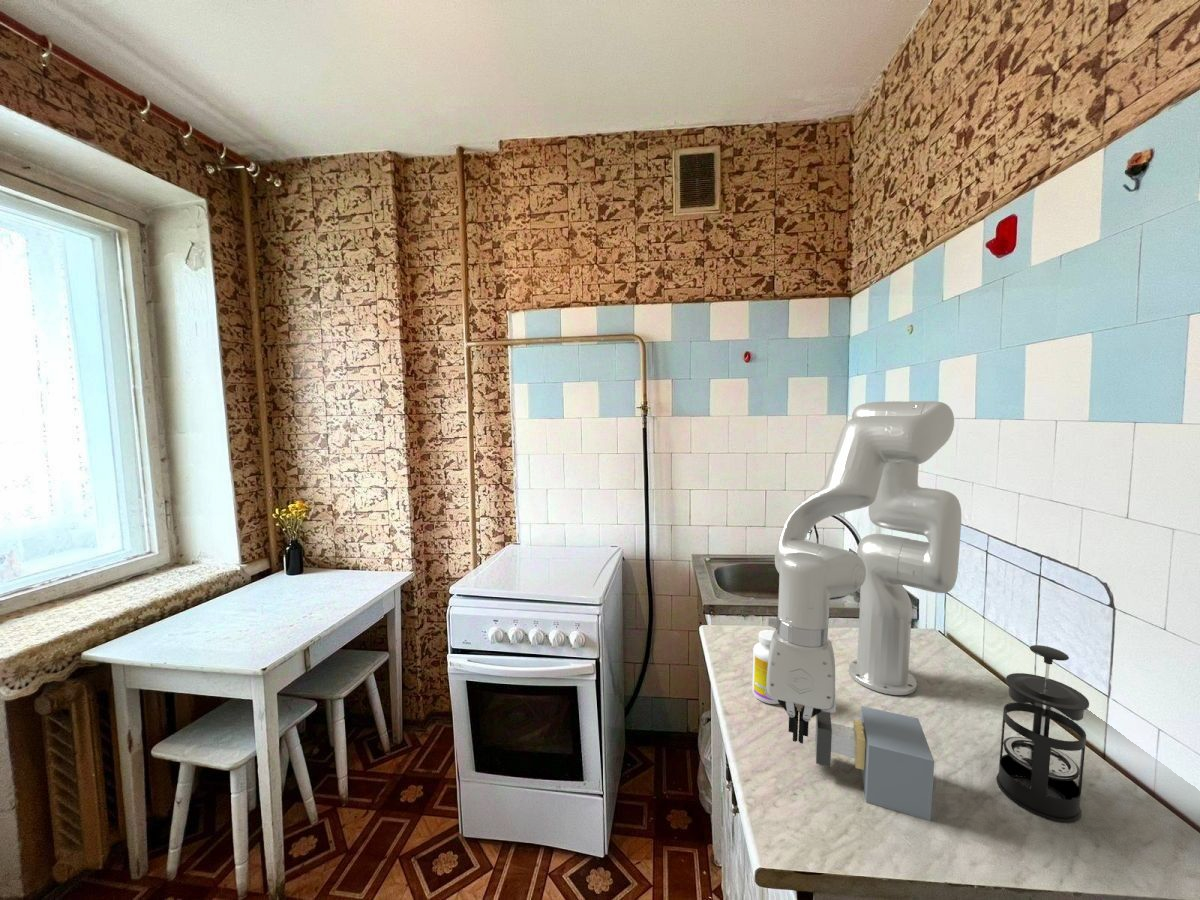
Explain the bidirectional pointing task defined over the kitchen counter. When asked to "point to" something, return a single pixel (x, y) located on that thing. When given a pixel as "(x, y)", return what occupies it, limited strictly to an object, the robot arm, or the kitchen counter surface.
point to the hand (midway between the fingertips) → (798, 737)
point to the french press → (1043, 744)
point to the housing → (897, 763)
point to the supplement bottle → (761, 666)
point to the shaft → (839, 741)
